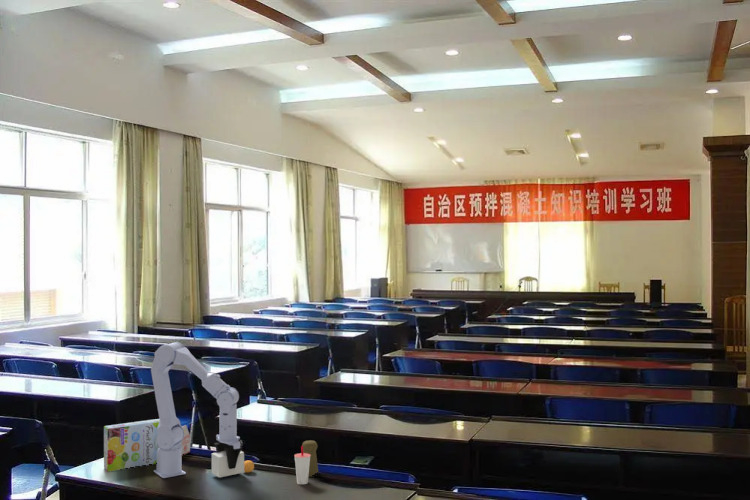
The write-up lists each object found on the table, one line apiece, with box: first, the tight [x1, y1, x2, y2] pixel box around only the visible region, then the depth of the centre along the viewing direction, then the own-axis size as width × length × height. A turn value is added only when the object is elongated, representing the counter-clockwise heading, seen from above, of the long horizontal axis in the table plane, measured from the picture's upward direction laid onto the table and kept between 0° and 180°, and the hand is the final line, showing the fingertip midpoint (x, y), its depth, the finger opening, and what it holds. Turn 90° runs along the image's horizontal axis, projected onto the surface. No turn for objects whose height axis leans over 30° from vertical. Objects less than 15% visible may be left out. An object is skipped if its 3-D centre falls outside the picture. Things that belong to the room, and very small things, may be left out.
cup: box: [293, 445, 311, 485], centre depth 223 cm, size 5×5×12 cm
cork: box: [301, 439, 319, 477], centre depth 233 cm, size 6×6×11 cm
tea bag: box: [181, 424, 191, 456], centre depth 257 cm, size 4×7×10 cm, turn 163°
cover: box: [211, 450, 245, 479], centre depth 230 cm, size 6×9×7 cm, turn 127°
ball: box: [244, 460, 255, 474], centre depth 234 cm, size 4×4×4 cm
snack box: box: [103, 418, 160, 473], centre depth 242 cm, size 21×6×15 cm, turn 124°
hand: (227, 466), depth 230 cm, fingers closed on cover, 6 cm apart
